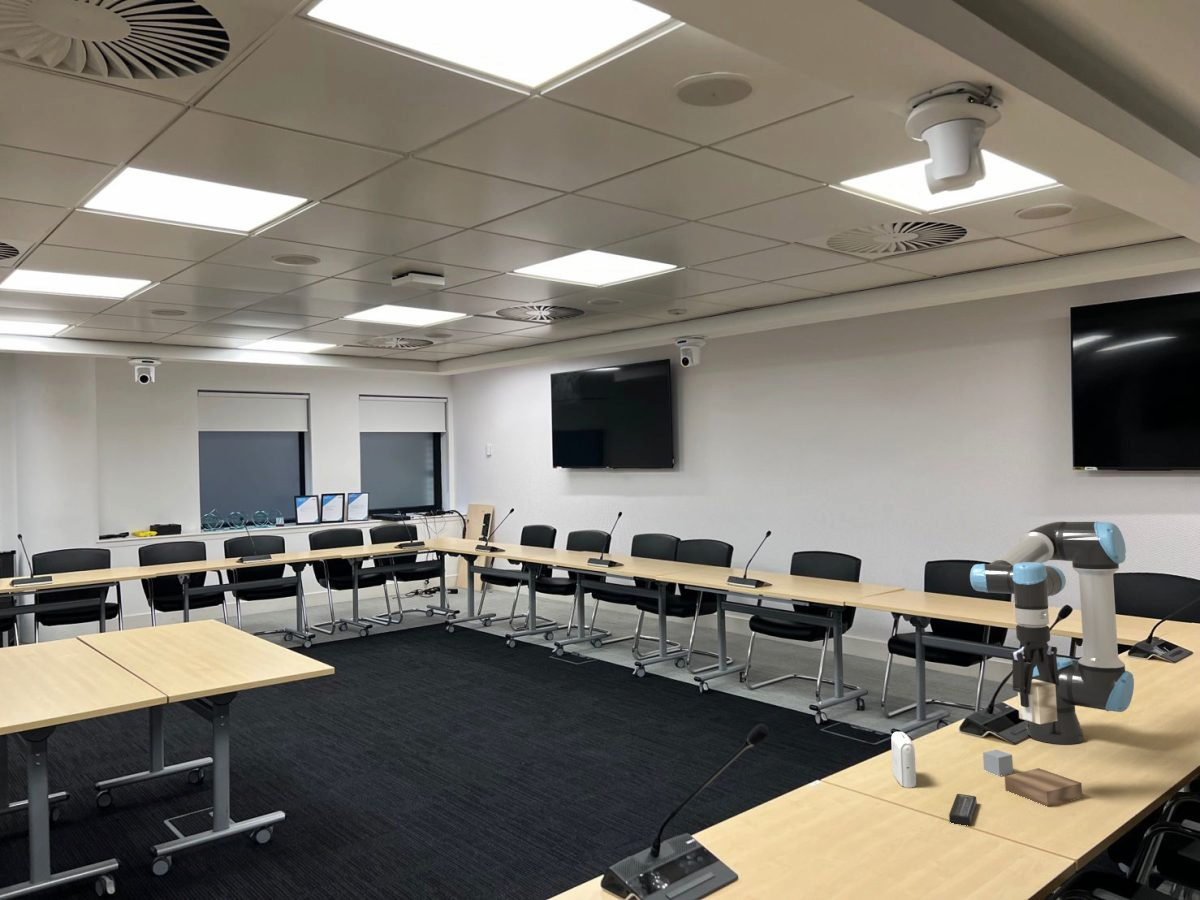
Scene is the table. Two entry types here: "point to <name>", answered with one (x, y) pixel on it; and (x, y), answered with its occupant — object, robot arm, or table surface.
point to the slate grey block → (998, 762)
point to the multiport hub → (963, 809)
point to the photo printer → (903, 759)
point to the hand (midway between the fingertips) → (1038, 717)
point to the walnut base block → (1043, 787)
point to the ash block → (1042, 702)
